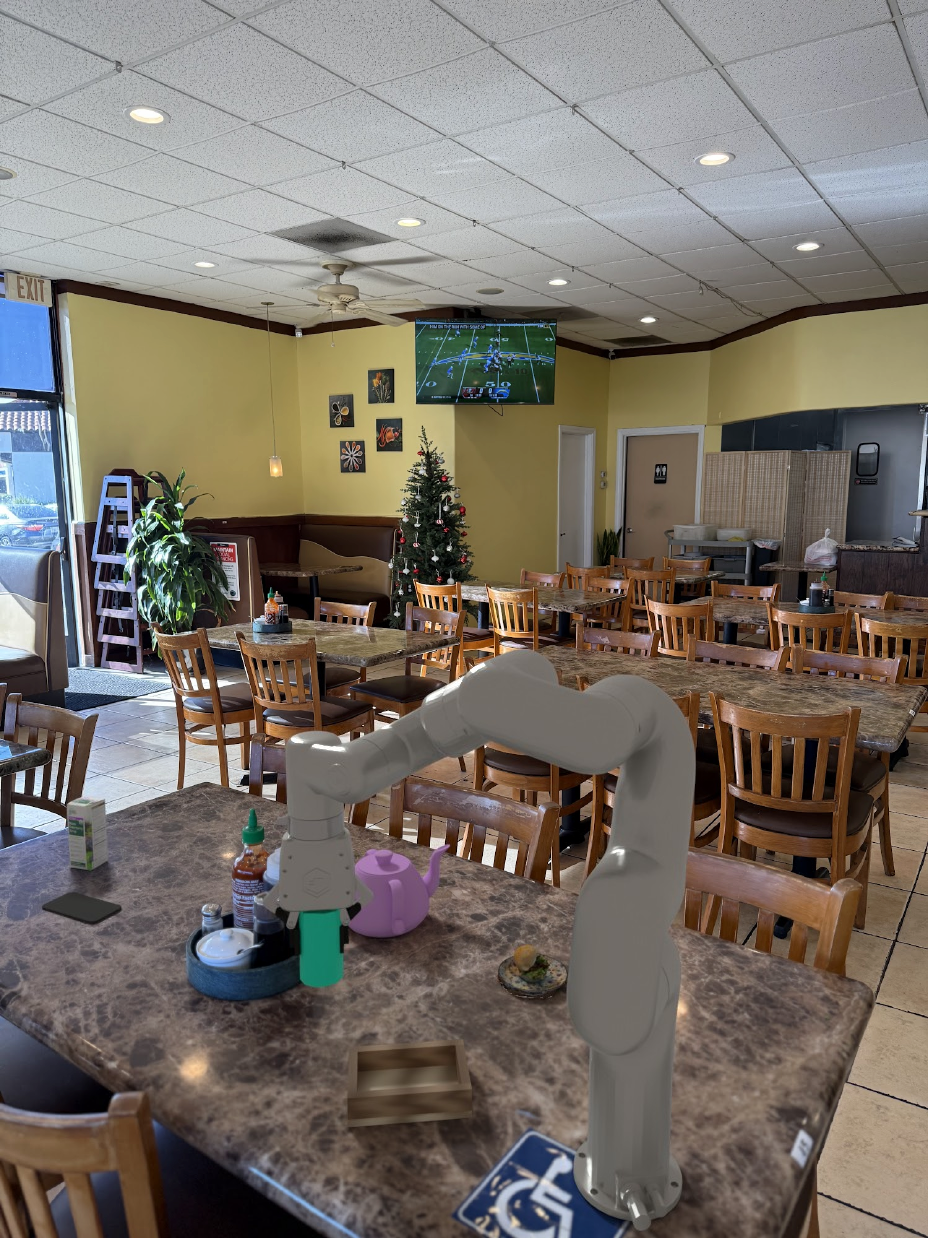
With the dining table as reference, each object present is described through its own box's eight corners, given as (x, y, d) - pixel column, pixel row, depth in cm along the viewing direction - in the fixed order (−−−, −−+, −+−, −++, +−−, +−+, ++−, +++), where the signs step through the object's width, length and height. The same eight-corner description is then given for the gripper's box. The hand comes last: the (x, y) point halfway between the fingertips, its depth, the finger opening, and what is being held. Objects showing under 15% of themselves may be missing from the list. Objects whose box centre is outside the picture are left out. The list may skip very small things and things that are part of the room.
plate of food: (564, 1005, 136) (565, 961, 135) (491, 997, 138) (492, 953, 137) (570, 966, 148) (571, 925, 146) (503, 958, 150) (503, 918, 149)
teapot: (470, 936, 157) (470, 865, 155) (355, 959, 149) (353, 884, 147) (430, 886, 177) (430, 822, 175) (327, 904, 169) (325, 837, 167)
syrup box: (68, 868, 185) (64, 804, 183) (88, 857, 191) (84, 795, 189) (90, 871, 183) (86, 806, 181) (109, 860, 189) (106, 797, 187)
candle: (324, 959, 122) (323, 879, 121) (352, 974, 118) (352, 892, 117) (290, 976, 118) (289, 894, 116) (319, 992, 114) (317, 907, 112)
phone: (71, 891, 174) (124, 906, 167) (71, 894, 174) (124, 910, 167) (38, 906, 167) (92, 922, 160) (39, 910, 167) (93, 927, 160)
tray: (462, 1062, 122) (462, 1038, 121) (472, 1117, 111) (472, 1091, 110) (349, 1070, 120) (348, 1045, 119) (347, 1127, 109) (347, 1100, 108)
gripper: (247, 837, 111) (253, 968, 113) (380, 831, 113) (382, 960, 115) (255, 816, 118) (260, 940, 120) (379, 811, 120) (381, 932, 122)
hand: (320, 948), depth 118 cm, fingers closed on candle, 5 cm apart
